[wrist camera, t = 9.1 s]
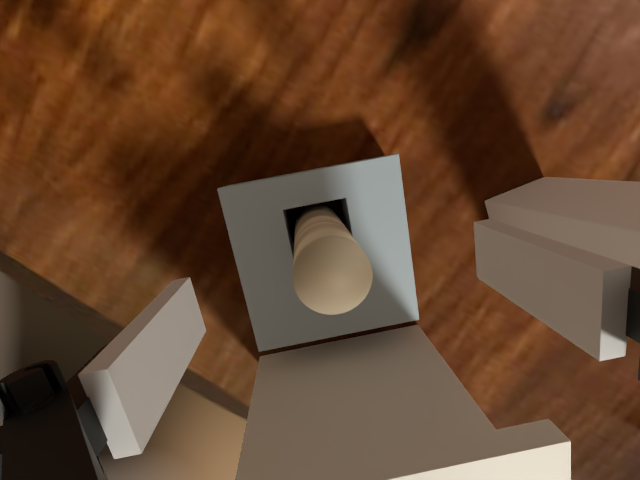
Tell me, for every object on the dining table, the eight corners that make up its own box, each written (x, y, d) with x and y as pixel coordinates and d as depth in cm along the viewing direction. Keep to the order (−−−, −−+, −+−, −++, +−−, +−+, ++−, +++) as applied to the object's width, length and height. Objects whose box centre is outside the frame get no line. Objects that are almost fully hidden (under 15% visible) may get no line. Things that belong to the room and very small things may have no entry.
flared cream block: (248, 312, 31) (178, 523, 13) (412, 279, 32) (570, 440, 13) (262, 366, 33) (217, 627, 14) (419, 335, 33) (571, 550, 15)
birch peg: (291, 208, 30) (285, 247, 16) (335, 200, 30) (366, 231, 16) (299, 250, 30) (301, 321, 17) (342, 242, 31) (377, 306, 17)
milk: (482, 200, 31) (915, 283, 9) (544, 175, 30) (1133, 200, 9) (499, 258, 32) (907, 450, 10) (558, 235, 32) (1096, 381, 10)
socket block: (227, 185, 29) (217, 188, 25) (385, 155, 29) (398, 154, 25) (263, 329, 32) (258, 352, 28) (404, 300, 32) (419, 319, 28)
